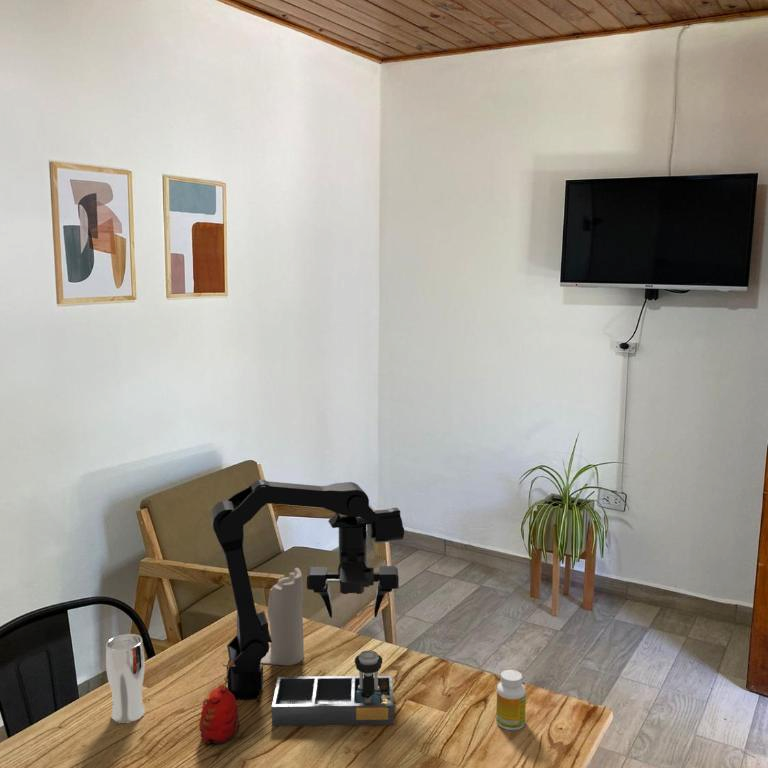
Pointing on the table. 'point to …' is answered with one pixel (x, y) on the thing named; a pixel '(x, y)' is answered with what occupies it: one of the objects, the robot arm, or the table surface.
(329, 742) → the table surface
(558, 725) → the table surface
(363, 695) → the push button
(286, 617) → the grey tall wavy piece
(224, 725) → the red clay folk toy
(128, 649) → the beer glass
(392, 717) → the divided tray
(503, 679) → the supplement bottle
